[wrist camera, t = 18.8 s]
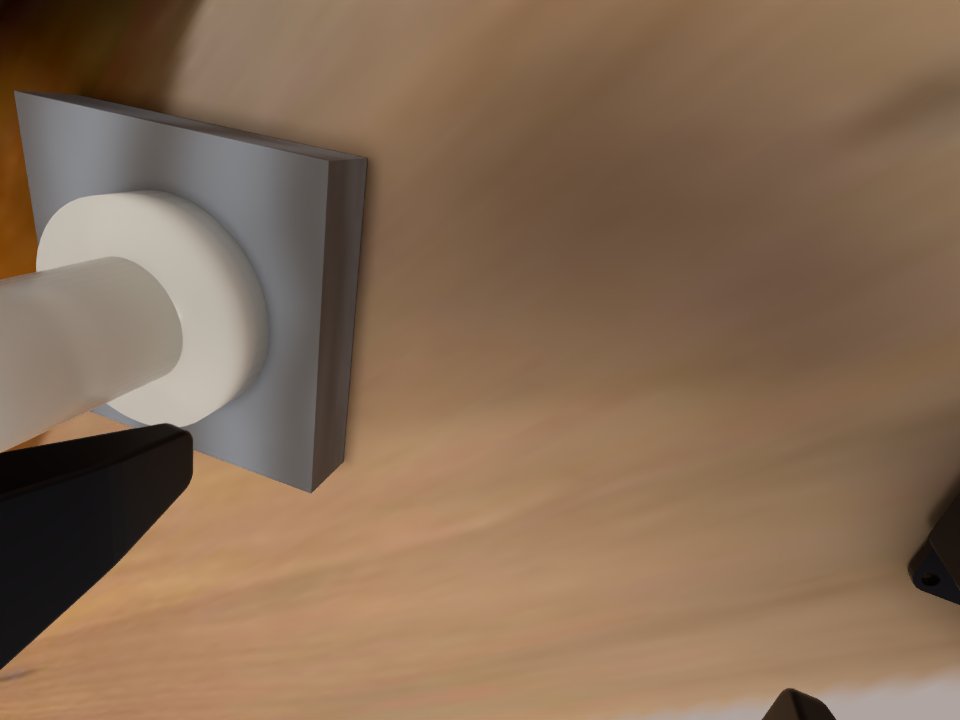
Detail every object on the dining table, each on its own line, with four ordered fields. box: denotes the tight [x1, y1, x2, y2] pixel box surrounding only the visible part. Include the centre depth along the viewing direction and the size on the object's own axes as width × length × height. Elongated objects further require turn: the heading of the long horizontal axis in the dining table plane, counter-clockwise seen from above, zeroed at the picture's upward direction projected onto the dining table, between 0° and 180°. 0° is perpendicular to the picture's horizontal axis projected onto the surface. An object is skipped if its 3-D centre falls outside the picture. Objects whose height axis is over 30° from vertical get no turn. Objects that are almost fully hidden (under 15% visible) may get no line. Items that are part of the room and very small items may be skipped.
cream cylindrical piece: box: [0, 190, 269, 453], centre depth 16 cm, size 8×8×12 cm
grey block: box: [14, 91, 367, 493], centre depth 23 cm, size 13×13×2 cm
